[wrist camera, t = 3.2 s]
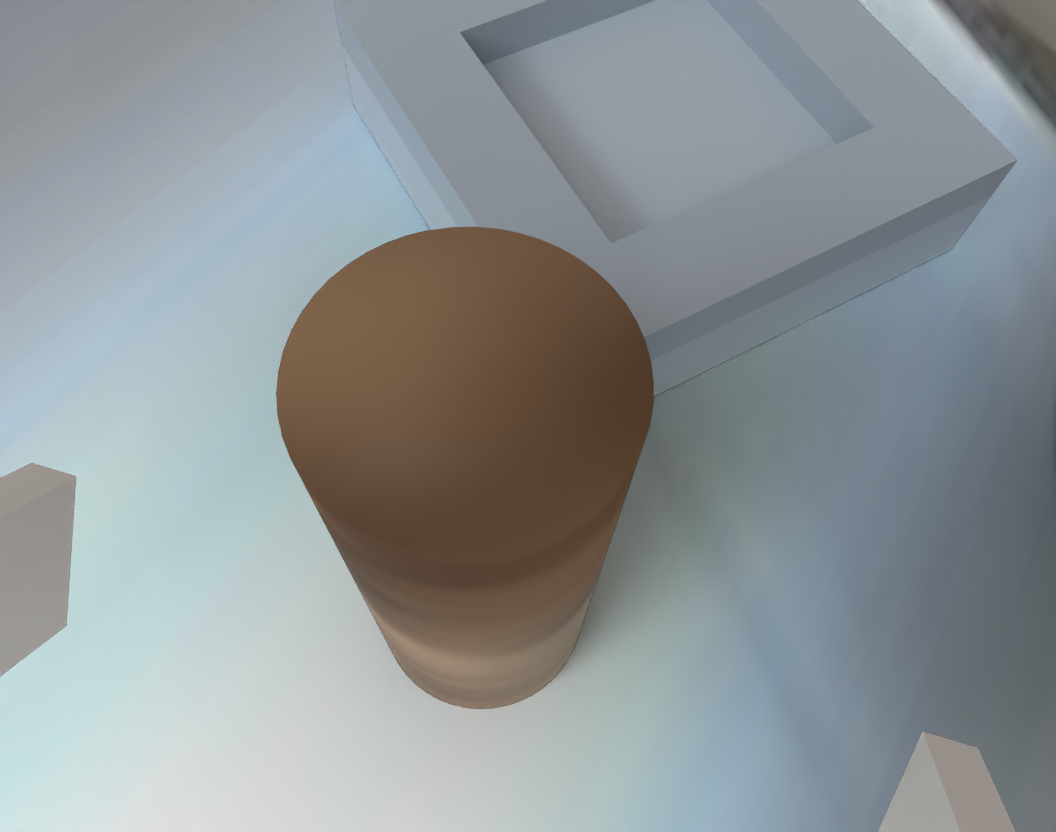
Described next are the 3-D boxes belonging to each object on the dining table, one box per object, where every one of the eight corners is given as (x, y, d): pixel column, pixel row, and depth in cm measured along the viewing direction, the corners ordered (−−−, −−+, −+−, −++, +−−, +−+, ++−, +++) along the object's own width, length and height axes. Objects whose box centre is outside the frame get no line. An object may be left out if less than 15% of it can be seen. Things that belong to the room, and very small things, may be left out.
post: (351, 567, 23) (220, 311, 12) (522, 481, 24) (539, 179, 14) (437, 748, 21) (373, 632, 10) (619, 646, 22) (726, 446, 12)
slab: (353, 105, 30) (333, 2, 27) (702, -24, 33) (726, -131, 30) (561, 442, 25) (571, 371, 21) (951, 249, 28) (1017, 160, 25)
